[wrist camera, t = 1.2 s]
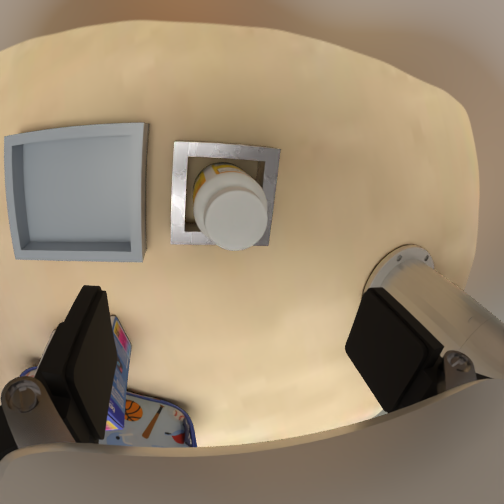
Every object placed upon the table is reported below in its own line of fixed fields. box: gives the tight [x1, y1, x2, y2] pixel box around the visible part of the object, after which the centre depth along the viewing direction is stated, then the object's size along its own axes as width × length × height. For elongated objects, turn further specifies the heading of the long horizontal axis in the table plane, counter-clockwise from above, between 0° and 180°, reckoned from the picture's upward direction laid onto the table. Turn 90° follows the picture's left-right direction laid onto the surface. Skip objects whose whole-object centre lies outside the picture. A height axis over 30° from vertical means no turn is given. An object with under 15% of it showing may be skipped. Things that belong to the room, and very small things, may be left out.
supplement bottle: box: [193, 162, 268, 251], centre depth 22 cm, size 5×5×10 cm
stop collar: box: [171, 141, 281, 246], centre depth 25 cm, size 9×9×2 cm
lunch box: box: [20, 366, 197, 448], centre depth 25 cm, size 28×10×22 cm, turn 65°
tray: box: [4, 123, 149, 262], centre depth 22 cm, size 14×12×3 cm
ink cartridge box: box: [34, 316, 131, 431], centre depth 24 cm, size 10×6×14 cm, turn 101°
